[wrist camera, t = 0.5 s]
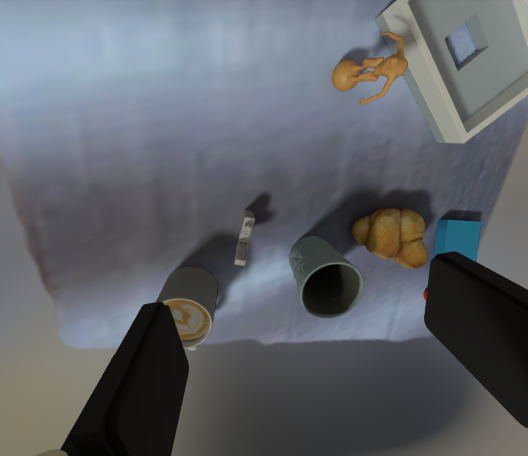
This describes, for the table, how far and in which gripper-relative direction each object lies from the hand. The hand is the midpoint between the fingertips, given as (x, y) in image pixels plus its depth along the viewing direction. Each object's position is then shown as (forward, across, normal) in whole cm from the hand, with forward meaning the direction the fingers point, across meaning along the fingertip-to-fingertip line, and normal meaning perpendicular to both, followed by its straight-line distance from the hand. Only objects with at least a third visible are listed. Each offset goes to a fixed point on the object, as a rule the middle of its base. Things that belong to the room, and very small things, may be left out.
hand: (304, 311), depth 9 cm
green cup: (+36, -9, +18) cm, 41 cm away
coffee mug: (+36, +16, +22) cm, 45 cm away
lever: (+36, -36, +24) cm, 56 cm away
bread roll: (+36, -23, +14) cm, 45 cm away
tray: (+36, -34, -14) cm, 51 cm away
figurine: (+36, -16, -12) cm, 41 cm away
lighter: (+36, +3, +10) cm, 37 cm away
